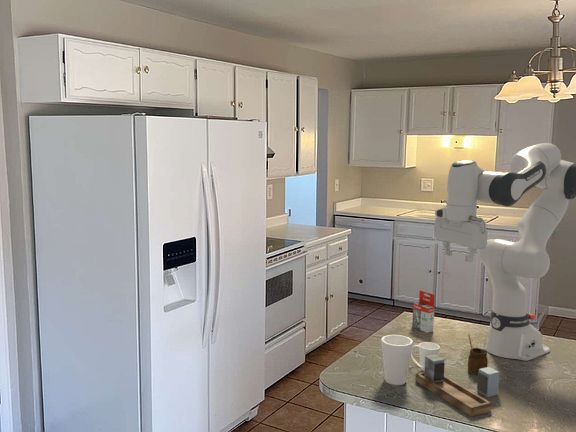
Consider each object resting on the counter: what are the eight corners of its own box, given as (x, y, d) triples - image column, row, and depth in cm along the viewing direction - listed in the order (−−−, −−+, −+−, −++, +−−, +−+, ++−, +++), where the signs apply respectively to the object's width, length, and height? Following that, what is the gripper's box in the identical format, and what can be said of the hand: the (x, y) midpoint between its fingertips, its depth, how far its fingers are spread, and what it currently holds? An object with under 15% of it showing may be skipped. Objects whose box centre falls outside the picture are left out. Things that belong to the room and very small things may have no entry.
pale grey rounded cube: (487, 389, 171) (489, 366, 170) (497, 394, 167) (499, 371, 166) (475, 391, 169) (477, 369, 168) (485, 397, 165) (487, 374, 164)
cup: (432, 376, 179) (433, 351, 178) (404, 367, 186) (405, 343, 185) (443, 369, 184) (444, 345, 183) (415, 360, 191) (416, 337, 190)
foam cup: (405, 389, 169) (407, 348, 168) (375, 383, 174) (377, 342, 172) (414, 377, 178) (416, 338, 176) (385, 371, 182) (387, 332, 180)
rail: (415, 381, 175) (417, 354, 174) (434, 377, 178) (435, 351, 177) (471, 416, 154) (473, 386, 153) (490, 411, 157) (492, 382, 156)
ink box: (427, 333, 217) (429, 296, 215) (411, 327, 224) (413, 291, 222) (433, 331, 220) (435, 294, 217) (417, 325, 226) (419, 289, 224)
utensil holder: (486, 376, 179) (489, 340, 177) (466, 373, 181) (468, 337, 180) (487, 369, 185) (489, 334, 183) (467, 366, 187) (469, 331, 185)
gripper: (493, 218, 165) (490, 264, 167) (447, 209, 184) (445, 251, 186) (477, 219, 163) (474, 266, 165) (431, 210, 181) (429, 252, 183)
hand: (458, 258), depth 175 cm, fingers open, 8 cm apart
